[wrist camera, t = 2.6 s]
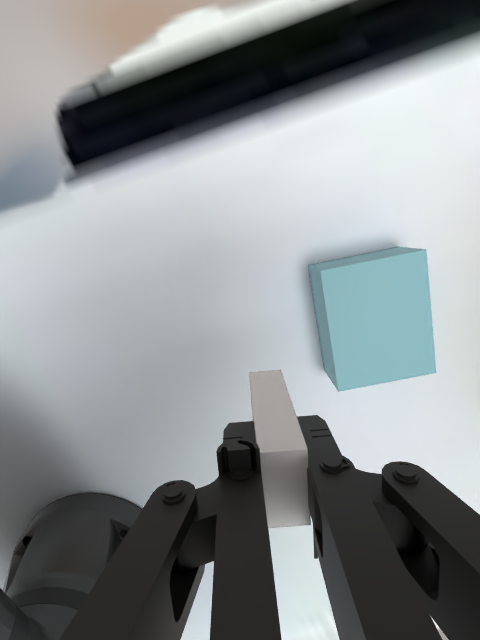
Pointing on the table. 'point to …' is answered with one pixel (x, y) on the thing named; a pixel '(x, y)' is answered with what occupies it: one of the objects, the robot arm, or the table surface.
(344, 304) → the block
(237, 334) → the table surface
